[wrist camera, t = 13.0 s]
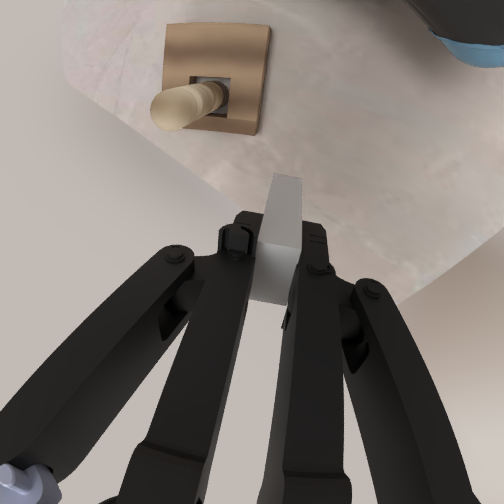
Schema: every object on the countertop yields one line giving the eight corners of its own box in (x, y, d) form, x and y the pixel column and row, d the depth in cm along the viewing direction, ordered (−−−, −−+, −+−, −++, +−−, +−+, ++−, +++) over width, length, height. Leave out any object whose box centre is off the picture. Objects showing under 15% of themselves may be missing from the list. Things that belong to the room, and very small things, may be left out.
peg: (200, 79, 37) (150, 88, 24) (230, 81, 37) (193, 89, 24) (198, 108, 40) (149, 130, 27) (227, 110, 39) (190, 133, 26)
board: (175, 26, 32) (166, 24, 30) (270, 28, 31) (268, 25, 29) (168, 123, 41) (160, 127, 39) (257, 131, 41) (254, 135, 38)
